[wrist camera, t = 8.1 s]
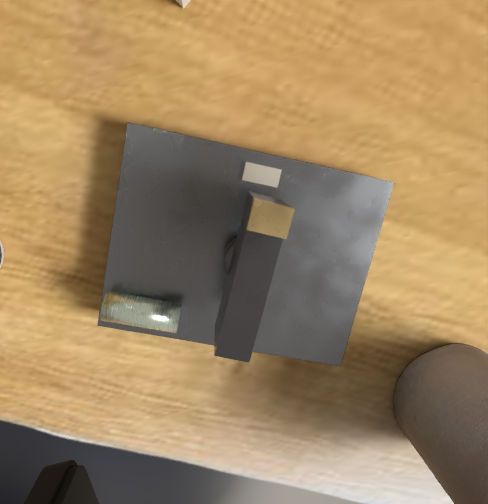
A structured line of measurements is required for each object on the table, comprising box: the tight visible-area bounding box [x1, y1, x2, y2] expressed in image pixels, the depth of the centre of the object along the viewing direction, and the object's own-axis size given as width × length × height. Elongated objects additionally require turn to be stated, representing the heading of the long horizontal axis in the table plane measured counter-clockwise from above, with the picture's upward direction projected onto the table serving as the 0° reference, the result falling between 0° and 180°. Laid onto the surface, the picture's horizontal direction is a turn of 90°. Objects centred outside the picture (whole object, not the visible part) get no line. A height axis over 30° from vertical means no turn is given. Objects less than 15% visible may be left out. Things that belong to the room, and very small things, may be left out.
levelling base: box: [98, 122, 394, 366], centre depth 28 cm, size 18×14×4 cm
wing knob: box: [215, 191, 295, 362], centre depth 25 cm, size 9×3×7 cm, turn 166°
